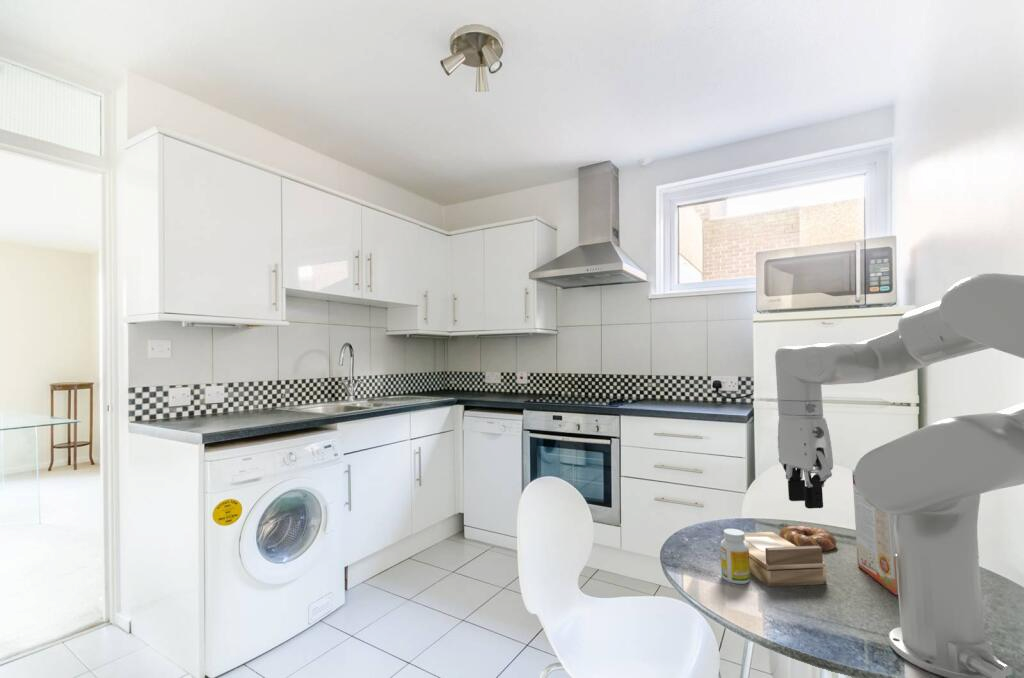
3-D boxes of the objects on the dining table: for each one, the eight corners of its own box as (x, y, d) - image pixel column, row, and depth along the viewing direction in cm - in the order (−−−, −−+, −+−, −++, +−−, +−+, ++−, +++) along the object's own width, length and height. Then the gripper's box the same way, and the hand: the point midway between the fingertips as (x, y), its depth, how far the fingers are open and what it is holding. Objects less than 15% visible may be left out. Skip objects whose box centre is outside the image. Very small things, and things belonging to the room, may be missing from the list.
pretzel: (776, 547, 115) (775, 531, 116) (782, 533, 124) (781, 519, 124) (835, 557, 108) (834, 540, 108) (838, 542, 117) (837, 527, 117)
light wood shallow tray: (826, 584, 95) (825, 568, 95) (768, 586, 94) (767, 571, 95) (773, 549, 113) (772, 536, 113) (724, 551, 112) (723, 538, 112)
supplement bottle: (716, 578, 99) (714, 531, 99) (729, 570, 102) (727, 525, 102) (743, 587, 94) (740, 538, 95) (755, 579, 98) (752, 531, 98)
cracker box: (931, 599, 88) (923, 485, 89) (894, 596, 89) (886, 484, 90) (888, 567, 102) (881, 469, 103) (856, 565, 103) (850, 468, 104)
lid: (825, 567, 95) (824, 547, 95) (767, 569, 95) (766, 550, 95) (772, 535, 113) (771, 519, 113) (723, 537, 112) (722, 521, 113)
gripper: (850, 412, 84) (857, 517, 83) (791, 405, 101) (796, 492, 100) (810, 413, 84) (816, 518, 83) (757, 406, 101) (762, 493, 100)
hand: (805, 503), depth 92 cm, fingers open, 4 cm apart
